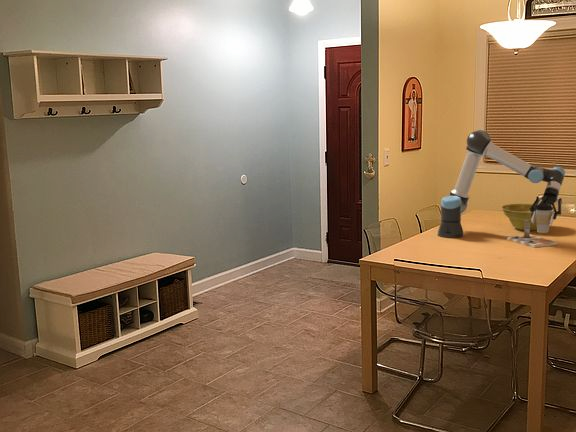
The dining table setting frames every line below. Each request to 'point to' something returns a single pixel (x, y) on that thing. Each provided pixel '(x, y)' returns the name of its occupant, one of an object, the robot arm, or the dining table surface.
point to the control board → (531, 238)
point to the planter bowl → (520, 215)
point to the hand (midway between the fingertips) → (541, 222)
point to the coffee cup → (543, 217)
